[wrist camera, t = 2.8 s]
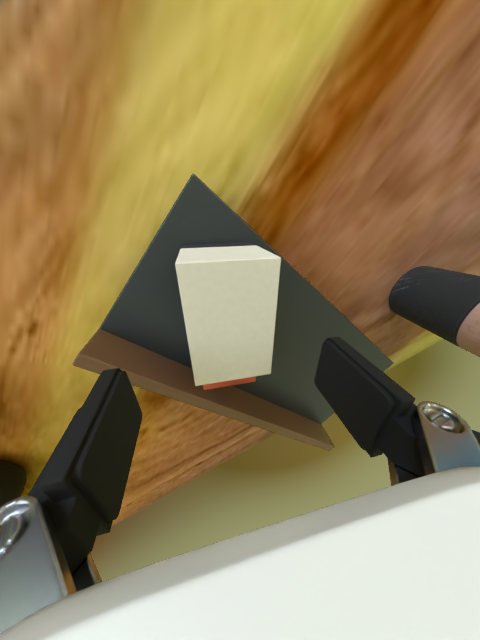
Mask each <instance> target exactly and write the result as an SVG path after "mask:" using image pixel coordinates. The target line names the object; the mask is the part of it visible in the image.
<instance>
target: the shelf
mask: <svg viewBox="0 0 480 640" xmlns="http://www.w3.org/2000/svg"><path fill="white" fill-rule="evenodd" d="M241 242H251V243H253V244H255V245H257V246H259V247H261V248H263V249H265V250H267V251H269V252H271V253H273V254H275V255H277V256H279V257H281V256H280V255H279V254H278V253H277V252H276V251H275V250H274V249H273V248H272V247H271V246H270V245H269V244H267V243H266V242H265V241H264V240H263V239H262V238H261V237H260V236H259V235H258V234H257V233H256V232H255V231H254V230H253V229H252V228H251V227H250V226H248V225H247V224H246V223H245V222H244V221H243V220H242V219H241V218H240V217H239V216H238V215H237V214H236V213H235V212H234V211H233V210H232V209H230V208H229V207H228V206H227V205H226V204H225V203H224V202H223V201H222V200H221V199H220V198H219V197H218V196H217V195H216V194H215V193H214V192H213V191H211V190H210V189H209V188H208V187H207V186H206V185H205V184H204V183H203V182H202V181H201V180H200V179H199V178H198V177H197V176H196V175H195V174H192V175H191V177H190V179H189V180H188V182H187V184H186V185H185V187H184V189H183V190H182V192H181V194H180V195H179V197H178V199H177V200H176V202H175V204H174V205H173V207H172V209H171V210H170V212H169V214H168V215H167V217H166V219H165V220H164V222H163V224H162V225H161V227H160V229H159V230H158V232H157V233H156V235H155V237H154V238H153V240H152V242H151V243H150V245H149V247H148V248H147V250H146V252H145V253H144V255H143V257H142V258H141V260H140V262H139V263H138V265H137V267H136V268H135V270H134V272H133V273H132V275H131V277H130V278H129V280H128V282H127V283H126V285H125V287H124V288H123V290H122V292H121V293H120V295H119V297H118V298H117V300H116V302H115V303H114V305H113V307H112V308H111V310H110V312H109V313H108V315H107V317H106V318H105V320H104V322H103V323H102V325H101V327H100V328H99V329H98V331H97V332H96V333H95V334H94V336H93V337H92V338H91V339H90V340H89V342H88V343H87V344H86V345H85V346H84V348H83V349H82V350H81V351H80V353H79V354H78V356H77V357H76V359H75V361H74V362H73V365H74V366H77V367H80V368H83V369H86V370H89V371H92V372H95V373H98V374H101V373H102V371H104V370H108V369H115V368H120V369H121V370H122V371H126V373H127V375H128V378H129V380H130V383H131V385H134V386H137V387H140V388H143V389H146V390H149V391H152V392H155V393H158V394H161V395H164V396H167V397H170V398H173V399H176V400H179V401H182V402H185V403H188V404H191V405H194V406H197V407H200V408H203V409H205V410H208V411H211V412H214V413H217V414H220V415H223V416H226V417H229V418H232V419H235V420H238V421H241V422H244V423H247V424H250V425H253V426H256V427H259V428H262V429H265V430H268V431H271V432H274V433H277V434H280V435H283V436H286V437H289V438H292V439H295V440H298V441H301V442H304V443H307V444H310V445H313V446H316V447H319V448H322V449H325V450H328V451H330V450H331V449H332V448H334V444H333V443H332V441H331V439H330V438H329V436H328V434H327V433H326V431H325V429H324V428H323V426H322V424H321V423H323V422H324V421H325V420H326V419H327V418H329V417H330V416H331V415H332V414H333V413H335V412H334V410H333V409H332V407H331V406H330V405H329V403H328V402H327V401H326V399H325V398H324V397H323V395H322V394H321V392H320V391H319V390H318V388H317V387H316V385H315V382H314V378H315V374H316V370H317V366H318V361H319V357H320V353H321V348H322V344H323V342H324V341H325V340H326V338H330V337H337V336H338V337H340V338H342V339H343V340H344V341H345V342H347V343H348V344H349V345H350V346H352V347H353V348H354V349H355V350H356V351H358V352H359V353H360V354H361V355H363V356H364V357H365V358H366V359H367V360H369V361H370V362H371V363H372V364H374V365H375V366H376V367H377V368H378V369H380V370H381V371H382V372H384V371H385V370H386V369H387V368H389V367H390V366H391V365H392V364H393V362H392V361H391V360H390V359H389V358H388V357H387V356H386V355H385V354H384V353H383V352H382V351H380V350H379V349H378V348H377V347H376V346H375V345H374V344H373V343H372V342H371V341H370V340H369V339H368V338H367V337H366V336H365V335H364V334H363V333H361V332H360V331H359V330H358V329H357V328H356V327H355V326H354V325H353V324H352V323H351V322H350V321H349V320H348V319H347V318H346V317H345V316H344V315H342V314H341V313H340V312H339V311H338V310H337V309H336V308H335V307H334V306H333V305H332V304H331V303H330V302H329V301H328V300H327V299H326V298H325V297H323V296H322V295H321V294H320V293H319V292H318V291H317V290H316V289H315V288H314V287H313V286H312V285H311V284H310V283H309V282H308V281H307V280H305V279H304V278H303V277H302V276H301V275H300V274H299V273H298V272H297V271H296V270H295V269H294V268H293V267H292V266H291V265H290V264H289V263H288V262H286V261H285V260H284V259H283V258H282V257H281V265H280V276H279V288H278V299H277V310H276V321H275V333H274V344H273V355H272V366H271V374H267V375H261V376H256V381H255V382H249V383H243V384H237V385H231V386H225V387H219V388H213V389H207V390H204V389H203V385H199V386H195V381H194V375H193V369H192V363H191V357H190V351H189V345H188V339H187V333H186V327H185V321H184V315H183V309H182V303H181V297H180V291H179V285H178V279H177V273H176V267H175V263H176V260H177V257H178V254H179V252H180V249H181V246H182V245H188V244H214V243H241Z"/></svg>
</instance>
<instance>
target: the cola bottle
mask: <svg viewBox="0 0 480 640" xmlns="http://www.w3.org/2000/svg"><path fill="white" fill-rule="evenodd" d="M25 484H26V473H25V472H24V470H23V469H21V468H20V467H19V466H17V465H14V464H12V463H8V462H3V461H0V506H2V505H4V504H5V503H7V502H9V501H11V500H14V499H16V498H18V497H21V495H22V492H23V490H24V487H25Z"/></svg>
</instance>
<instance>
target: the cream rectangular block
mask: <svg viewBox="0 0 480 640" xmlns="http://www.w3.org/2000/svg"><path fill="white" fill-rule="evenodd" d="M280 265H281V257H279V256H277V255H275V254H273V253H271V252H269V251H267V250H265V249H263V248H261V247H259V246H257V245H255V244H253V243H251V242H241V243H214V244H188V245H182V246H181V249H180V252H179V254H178V257H177V260H176V263H175V267H176V273H177V279H178V285H179V291H180V297H181V303H182V309H183V315H184V321H185V327H186V333H187V339H188V345H189V351H190V357H191V363H192V369H193V375H194V381H195V386H199V385H203V389H204V390H207V389H213V388H219V387H225V386H231V385H237V384H243V383H249V382H255V381H256V376H261V375H267V374H271V366H272V355H273V344H274V333H275V321H276V310H277V299H278V288H279V276H280Z"/></svg>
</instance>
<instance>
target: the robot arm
mask: <svg viewBox="0 0 480 640" xmlns="http://www.w3.org/2000/svg"><path fill="white" fill-rule="evenodd" d="M314 382H315V385H316V387H317V388H318V390H319V391H320V392H321V394H322V395H323V397H324V398H325V399H326V401H327V402H328V403H329V405H330V406H331V407H332V409H333V410H334V412H335V413H336V414H337V415H338V417H339V418H340V420H341V421H342V422H343V424H344V425H345V427H346V428H347V429H348V431H349V432H350V433H351V435H352V436H353V438H354V439H355V440H356V442H357V443H358V444H359V446H360V447H361V448H362V449H364V450H366V451H367V453H368V454H369V455H370V457H375V456H378V455H381V454H382V453H384V454H385V455H386V456H387V458H388V465H389V472H390V480H391V486H390V487H387V488H384V489H380V490H377V491H374V492H371V493H368V494H365V495H362V496H358V497H355V498H352V499H349V500H346V501H343V502H339V503H337V504H333V505H331V506H327V507H324V508H321V509H318V510H315V511H312V512H309V513H306V514H302V515H299V516H297V517H293V518H290V519H287V520H284V521H281V522H278V523H275V524H272V525H268V526H265V527H262V528H259V529H256V530H253V531H250V532H247V533H245V534H241V535H238V536H235V537H232V538H229V539H226V540H223V541H220V542H217V543H214V544H211V545H208V546H205V547H202V548H199V549H196V550H192V551H189V552H186V553H183V554H180V555H177V556H174V557H172V558H168V559H165V560H162V561H160V562H157V563H154V564H151V565H148V566H145V567H143V568H140V569H137V570H134V571H131V572H128V573H125V574H123V575H120V576H117V577H114V578H111V579H108V580H106V581H103V582H102V580H101V577H100V575H99V572H98V570H97V568H96V565H95V563H94V560H93V558H92V555H91V553H90V552H91V551H92V549H93V545H94V542H95V539H96V536H98V535H101V534H105V533H108V532H110V529H111V525H112V521H113V520H115V519H117V517H118V515H119V512H120V508H121V504H122V500H123V496H124V492H125V487H126V483H127V479H128V475H129V471H130V467H131V462H132V458H133V454H134V450H135V446H136V441H137V437H138V433H139V429H140V425H141V421H142V412H141V409H140V407H139V404H138V401H137V399H136V396H135V393H134V391H133V388H132V386H131V383H130V380H129V378H128V375H127V373H126V371H122V370H121V369H120V368H115V369H108V370H104V371H102V373H101V374H100V376H99V378H98V380H97V381H96V383H95V385H94V387H93V388H92V390H91V392H90V394H89V396H88V397H87V399H86V401H85V403H84V404H83V406H82V407H81V408H80V409H79V410H78V411H77V412H76V414H75V415H74V417H73V419H72V421H71V422H70V424H69V426H68V428H67V429H66V431H65V433H64V434H63V436H62V438H61V440H60V441H59V443H58V445H57V446H56V448H55V450H54V452H53V453H52V455H51V457H50V459H49V460H48V462H47V464H46V465H45V467H44V469H43V471H42V472H41V474H40V476H39V477H38V479H37V481H36V483H35V484H34V486H33V488H32V490H31V491H30V493H29V495H28V496H23V497H18V498H16V499H14V500H11V501H9V502H7V503H5V504H4V505H2V506H0V640H480V433H479V432H476V431H474V430H471V428H470V426H469V425H468V424H467V422H466V421H465V420H464V419H463V418H462V417H461V416H460V415H458V414H457V413H455V412H454V411H453V410H451V409H449V408H447V407H445V406H443V405H440V404H437V403H434V402H421V403H419V404H418V406H416V405H415V404H413V402H414V401H415V398H414V397H413V396H412V395H410V394H409V393H408V392H407V391H405V390H404V389H403V388H402V387H400V386H399V385H398V384H397V383H395V382H394V381H393V380H392V379H391V378H389V377H388V376H387V375H386V374H385V373H383V372H382V371H381V370H380V369H378V368H377V367H376V366H375V365H374V364H372V363H371V362H370V361H369V360H367V359H366V358H365V357H364V356H363V355H361V354H360V353H359V352H358V351H356V350H355V349H354V348H353V347H352V346H350V345H349V344H348V343H347V342H345V341H344V340H343V339H342V338H340V337H338V336H337V337H330V338H326V340H325V341H324V342H323V344H322V348H321V353H320V357H319V361H318V366H317V370H316V374H315V378H314Z"/></svg>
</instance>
